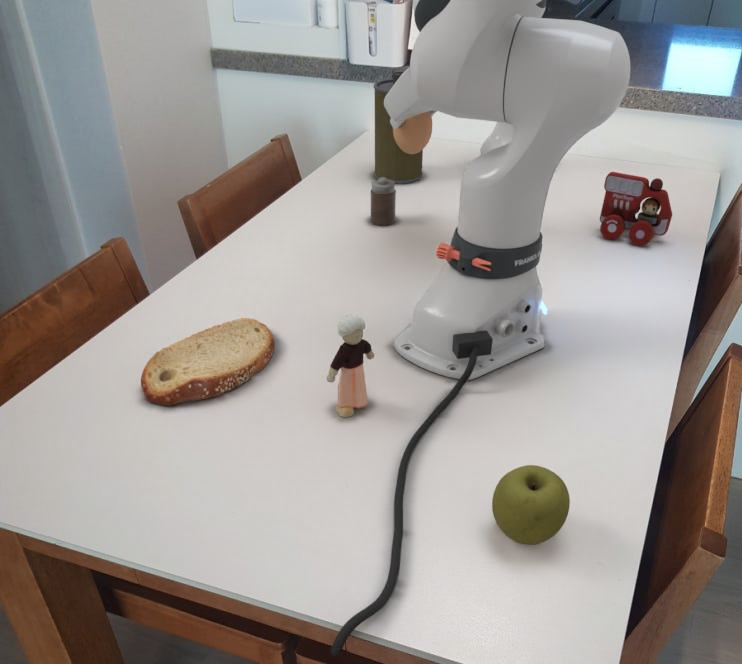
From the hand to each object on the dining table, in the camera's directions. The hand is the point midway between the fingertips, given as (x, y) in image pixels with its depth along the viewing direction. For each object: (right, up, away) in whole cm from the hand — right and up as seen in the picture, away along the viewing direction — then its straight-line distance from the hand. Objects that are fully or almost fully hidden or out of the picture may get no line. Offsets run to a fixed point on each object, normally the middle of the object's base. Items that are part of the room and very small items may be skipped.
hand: (409, 119), depth 125 cm
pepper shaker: (-4, -11, +15) cm, 20 cm away
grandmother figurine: (-9, -52, -30) cm, 60 cm away
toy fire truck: (+40, -16, +10) cm, 44 cm away
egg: (+1, -4, +3) cm, 5 cm away
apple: (+10, -67, -47) cm, 82 cm away
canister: (-1, +5, +34) cm, 35 cm away
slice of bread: (-28, -45, -23) cm, 58 cm away
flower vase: (+22, +8, +38) cm, 45 cm away
